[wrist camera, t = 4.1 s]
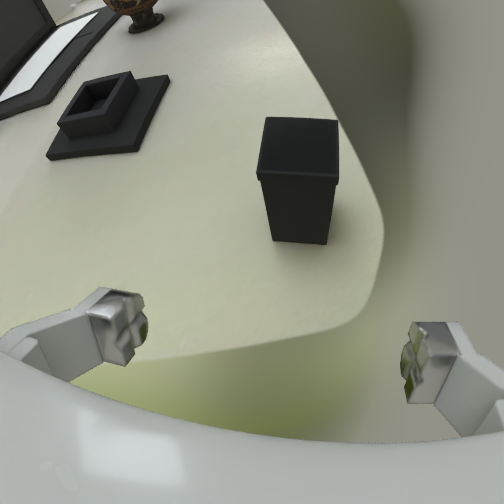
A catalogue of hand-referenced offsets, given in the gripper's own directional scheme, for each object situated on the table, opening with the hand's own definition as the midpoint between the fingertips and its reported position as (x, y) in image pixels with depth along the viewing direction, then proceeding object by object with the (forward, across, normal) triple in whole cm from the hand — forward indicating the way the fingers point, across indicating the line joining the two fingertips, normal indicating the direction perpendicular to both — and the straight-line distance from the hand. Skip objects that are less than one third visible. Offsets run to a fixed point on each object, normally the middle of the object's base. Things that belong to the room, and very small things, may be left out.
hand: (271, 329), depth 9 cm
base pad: (+26, +24, -7) cm, 37 cm away
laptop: (+44, +54, -25) cm, 74 cm away
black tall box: (+17, 0, +2) cm, 17 cm away
